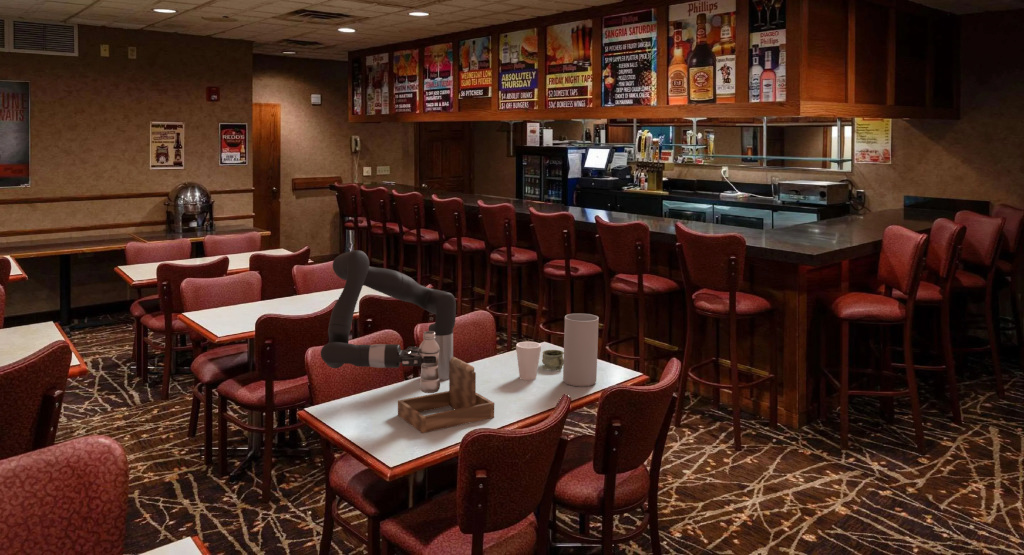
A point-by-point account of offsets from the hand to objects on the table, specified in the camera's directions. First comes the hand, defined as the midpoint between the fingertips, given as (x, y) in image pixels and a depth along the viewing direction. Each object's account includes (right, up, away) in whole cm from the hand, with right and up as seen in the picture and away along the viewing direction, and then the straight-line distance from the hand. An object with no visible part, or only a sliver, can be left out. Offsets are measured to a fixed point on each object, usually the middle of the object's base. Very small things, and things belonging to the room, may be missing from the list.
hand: (437, 356), depth 241 cm
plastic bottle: (-3, -12, +2) cm, 12 cm away
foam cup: (+30, -13, +46) cm, 56 cm away
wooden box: (+2, -20, +5) cm, 21 cm away
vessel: (+40, -11, +59) cm, 73 cm away
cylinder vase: (+50, -14, +42) cm, 66 cm away
